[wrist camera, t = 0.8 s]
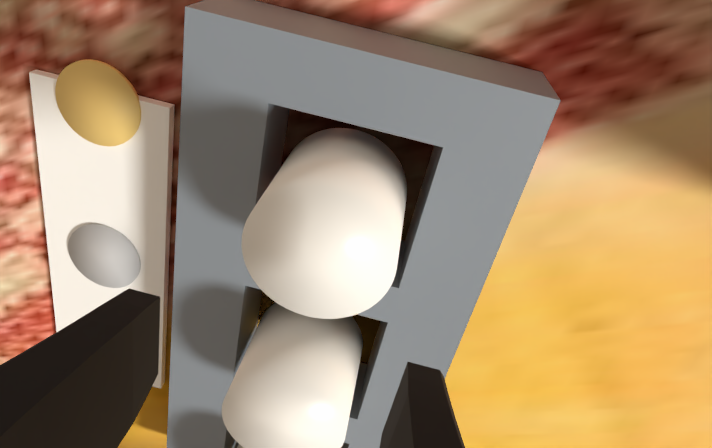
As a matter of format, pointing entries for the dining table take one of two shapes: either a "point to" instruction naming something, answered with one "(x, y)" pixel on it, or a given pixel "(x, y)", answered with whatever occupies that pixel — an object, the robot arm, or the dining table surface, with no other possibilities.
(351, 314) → the button
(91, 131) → the pattern card
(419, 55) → the board
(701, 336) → the dining table surface
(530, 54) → the dining table surface
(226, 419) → the button mid
